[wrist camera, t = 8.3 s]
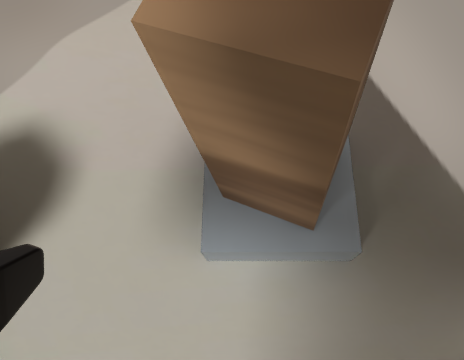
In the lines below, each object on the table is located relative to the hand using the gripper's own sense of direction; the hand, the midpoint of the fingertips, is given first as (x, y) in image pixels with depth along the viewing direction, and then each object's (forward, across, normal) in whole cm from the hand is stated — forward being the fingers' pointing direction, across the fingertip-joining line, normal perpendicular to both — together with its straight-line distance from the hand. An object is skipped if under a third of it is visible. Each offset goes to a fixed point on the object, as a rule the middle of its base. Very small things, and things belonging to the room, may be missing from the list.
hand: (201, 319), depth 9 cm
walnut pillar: (+12, 0, +1) cm, 12 cm away
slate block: (+14, 0, +3) cm, 15 cm away
